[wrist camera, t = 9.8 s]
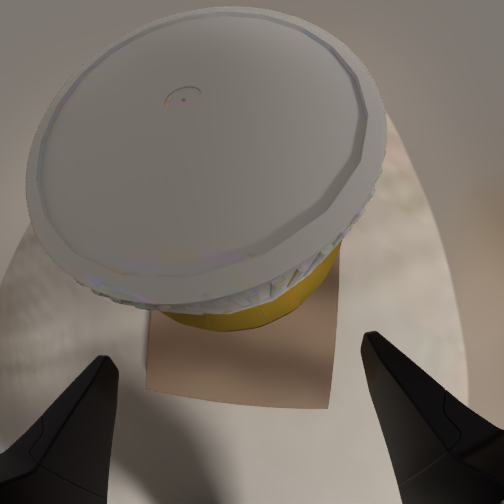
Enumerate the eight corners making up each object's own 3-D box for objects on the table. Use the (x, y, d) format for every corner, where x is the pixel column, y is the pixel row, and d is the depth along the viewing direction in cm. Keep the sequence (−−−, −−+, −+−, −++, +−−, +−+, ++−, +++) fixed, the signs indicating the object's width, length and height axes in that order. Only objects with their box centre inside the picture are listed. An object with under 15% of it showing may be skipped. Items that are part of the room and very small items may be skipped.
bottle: (172, 268, 19) (-11, 147, 4) (249, 197, 19) (216, -19, 5) (245, 348, 17) (153, 458, 3) (324, 270, 18) (472, 118, 3)
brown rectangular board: (323, 402, 17) (327, 408, 16) (153, 384, 18) (145, 388, 17) (332, 161, 21) (336, 152, 20) (184, 154, 22) (179, 145, 21)
